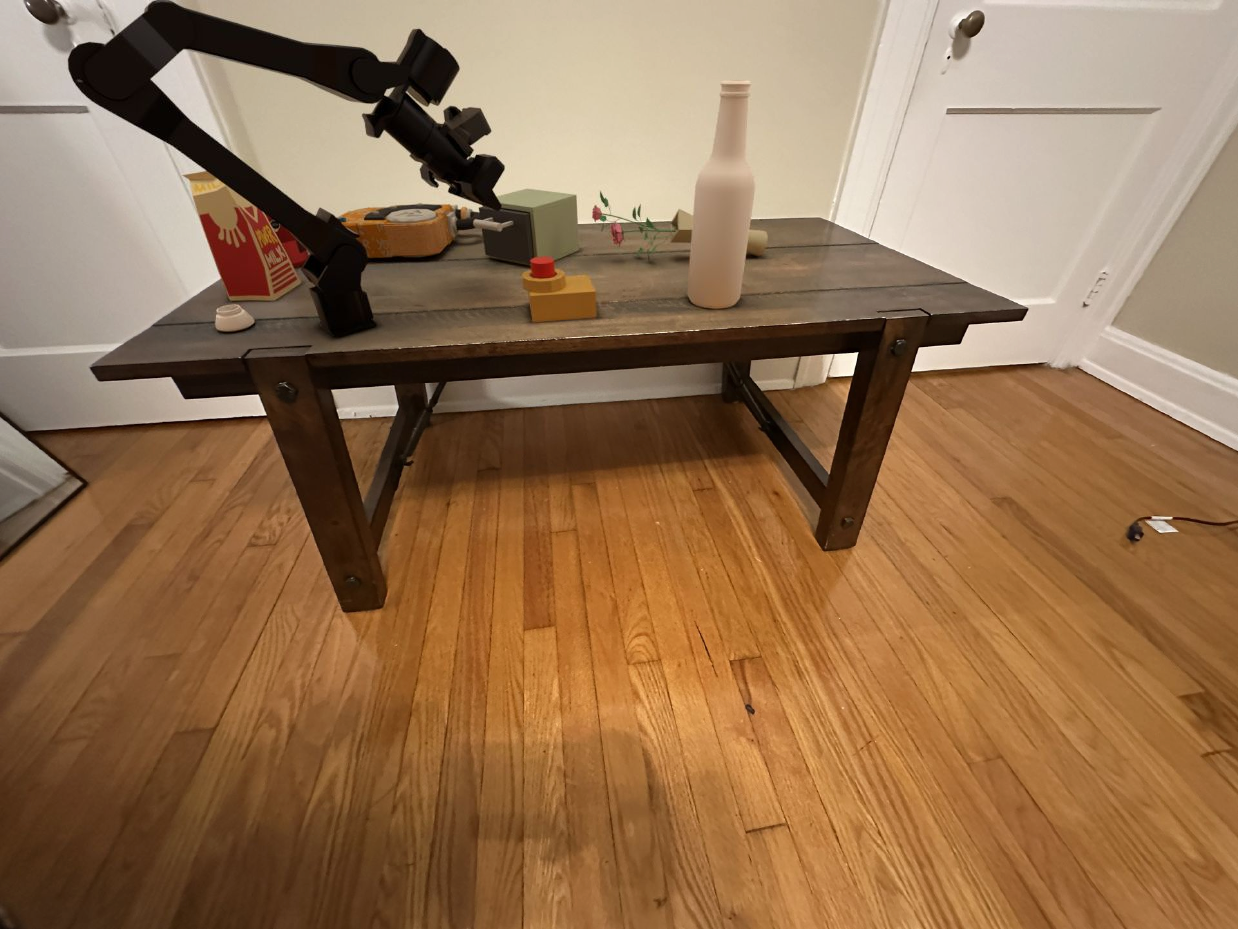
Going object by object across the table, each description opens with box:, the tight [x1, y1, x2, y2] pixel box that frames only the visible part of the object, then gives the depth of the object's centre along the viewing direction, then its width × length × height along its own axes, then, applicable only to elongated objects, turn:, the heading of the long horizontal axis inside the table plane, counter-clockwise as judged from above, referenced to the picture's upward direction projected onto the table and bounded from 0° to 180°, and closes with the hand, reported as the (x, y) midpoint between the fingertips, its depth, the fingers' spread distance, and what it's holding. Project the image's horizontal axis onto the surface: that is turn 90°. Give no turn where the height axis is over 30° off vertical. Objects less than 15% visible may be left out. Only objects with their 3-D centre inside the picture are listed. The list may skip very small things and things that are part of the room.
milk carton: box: [181, 170, 302, 302], centre depth 87 cm, size 9×9×20 cm
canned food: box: [264, 213, 309, 269], centre depth 103 cm, size 8×8×11 cm
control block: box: [521, 268, 598, 323], centre depth 84 cm, size 11×8×6 cm
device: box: [336, 202, 480, 259], centre depth 113 cm, size 23×8×30 cm
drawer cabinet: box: [483, 188, 580, 267], centre depth 108 cm, size 14×13×11 cm
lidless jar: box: [214, 304, 255, 333], centre depth 80 cm, size 5×3×5 cm
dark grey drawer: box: [473, 205, 534, 264], centre depth 105 cm, size 17×12×9 cm
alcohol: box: [686, 79, 756, 310], centre depth 80 cm, size 9×9×30 cm
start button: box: [530, 257, 555, 279], centre depth 81 cm, size 4×4×2 cm
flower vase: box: [591, 190, 768, 264], centre depth 106 cm, size 12×12×35 cm
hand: (499, 208), depth 88 cm, fingers closed
